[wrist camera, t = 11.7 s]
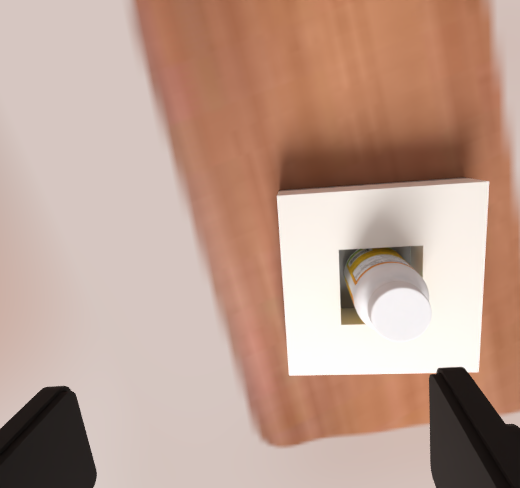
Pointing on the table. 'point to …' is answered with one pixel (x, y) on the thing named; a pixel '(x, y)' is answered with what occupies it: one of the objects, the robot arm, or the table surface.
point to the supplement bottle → (388, 293)
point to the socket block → (408, 247)
